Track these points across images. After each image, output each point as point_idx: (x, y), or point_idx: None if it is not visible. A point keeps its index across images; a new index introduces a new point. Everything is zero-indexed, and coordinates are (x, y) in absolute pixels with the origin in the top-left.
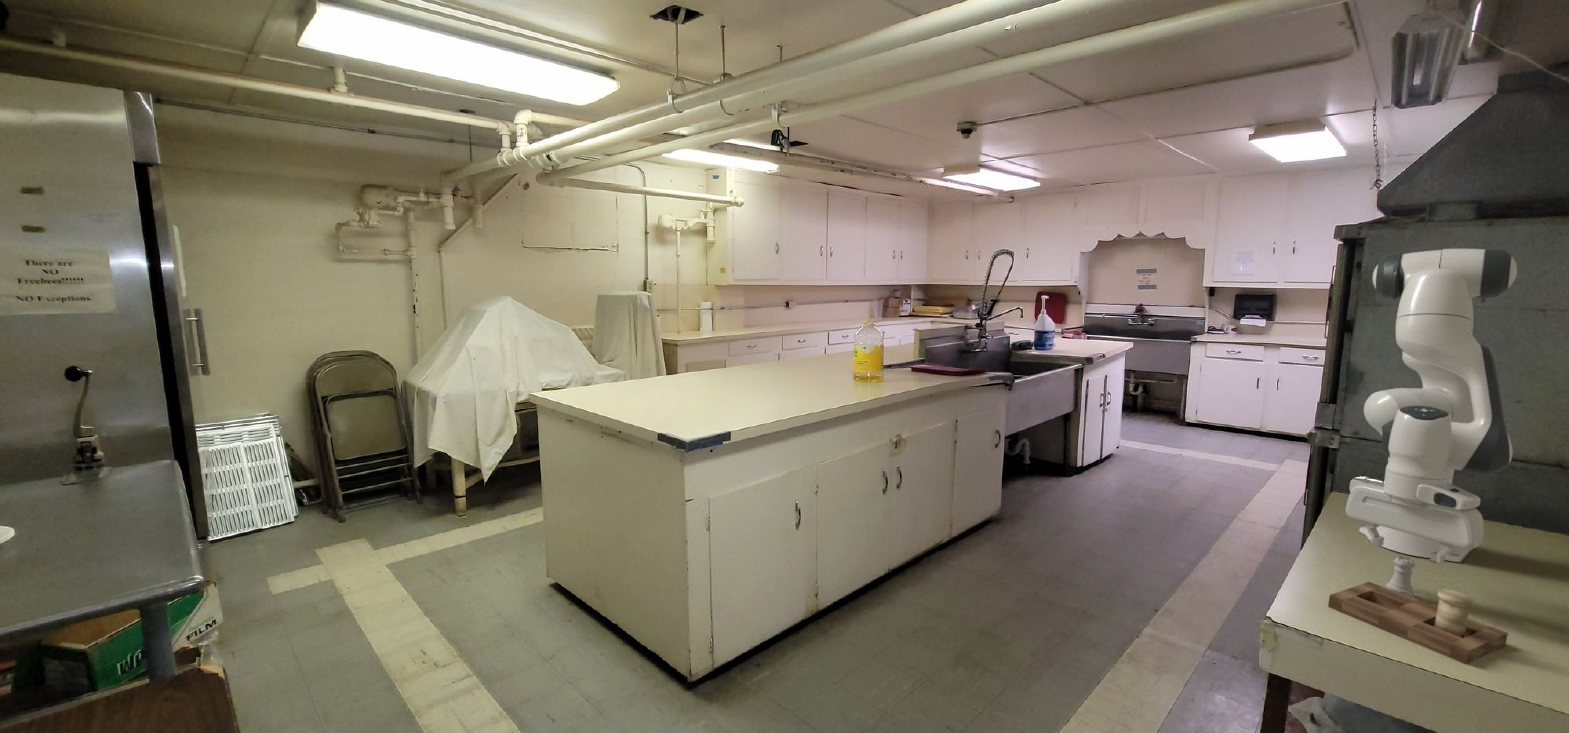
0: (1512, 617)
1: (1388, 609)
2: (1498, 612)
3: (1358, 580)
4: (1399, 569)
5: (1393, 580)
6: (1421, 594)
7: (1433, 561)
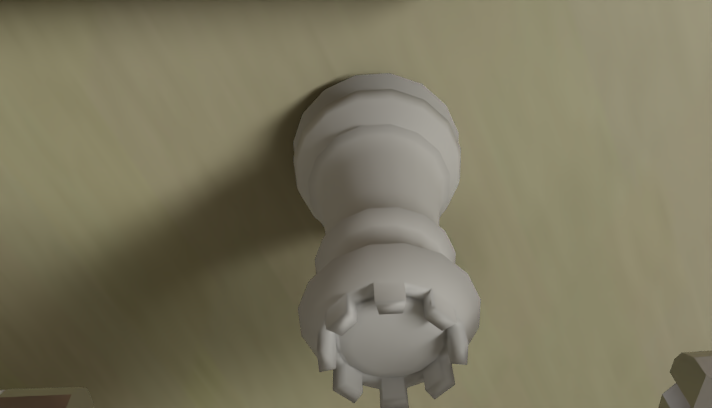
0: None
1: None
2: None
3: (624, 132)
4: (391, 224)
5: (413, 156)
6: None
7: (34, 392)
